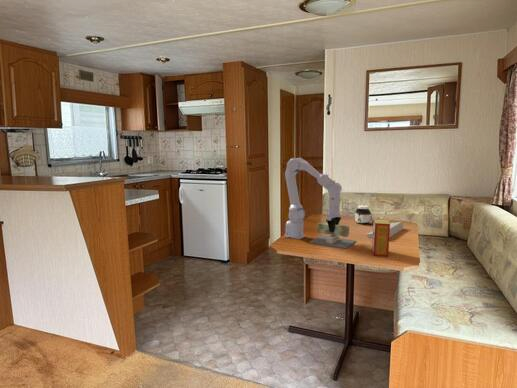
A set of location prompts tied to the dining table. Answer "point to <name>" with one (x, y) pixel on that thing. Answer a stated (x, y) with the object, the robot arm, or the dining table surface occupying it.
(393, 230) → the decorative molding
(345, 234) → the bar
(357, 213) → the white toy car
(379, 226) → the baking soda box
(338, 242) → the stand
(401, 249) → the dining table surface
